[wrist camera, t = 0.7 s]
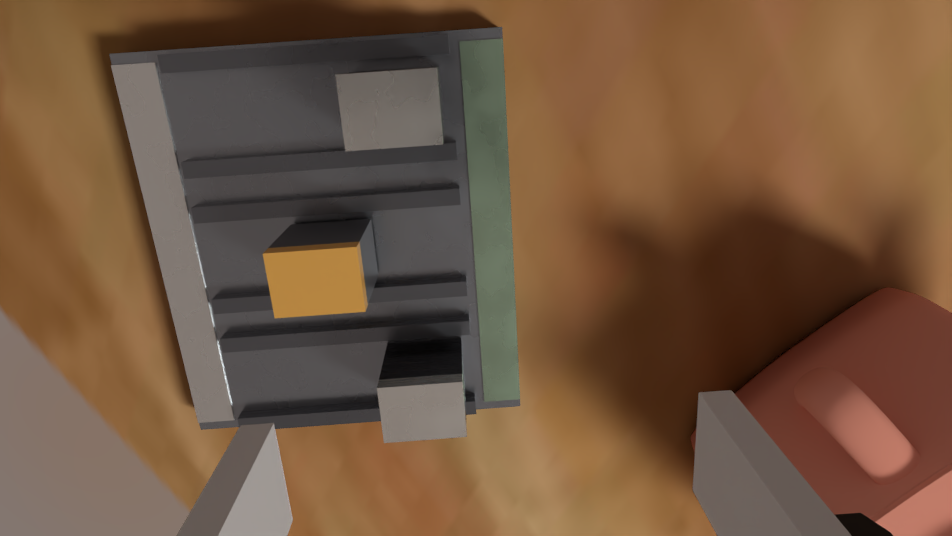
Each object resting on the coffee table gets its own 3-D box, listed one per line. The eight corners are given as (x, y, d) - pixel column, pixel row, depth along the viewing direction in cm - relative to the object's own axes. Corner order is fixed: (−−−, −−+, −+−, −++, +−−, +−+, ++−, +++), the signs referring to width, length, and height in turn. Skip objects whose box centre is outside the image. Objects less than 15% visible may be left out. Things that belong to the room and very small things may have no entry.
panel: (125, 53, 30) (42, 53, 24) (499, 28, 30) (510, 21, 24) (210, 414, 36) (162, 485, 30) (517, 392, 36) (529, 458, 30)
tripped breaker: (290, 224, 31) (262, 253, 26) (371, 218, 31) (356, 246, 26) (300, 281, 32) (274, 318, 27) (378, 275, 32) (365, 311, 27)
